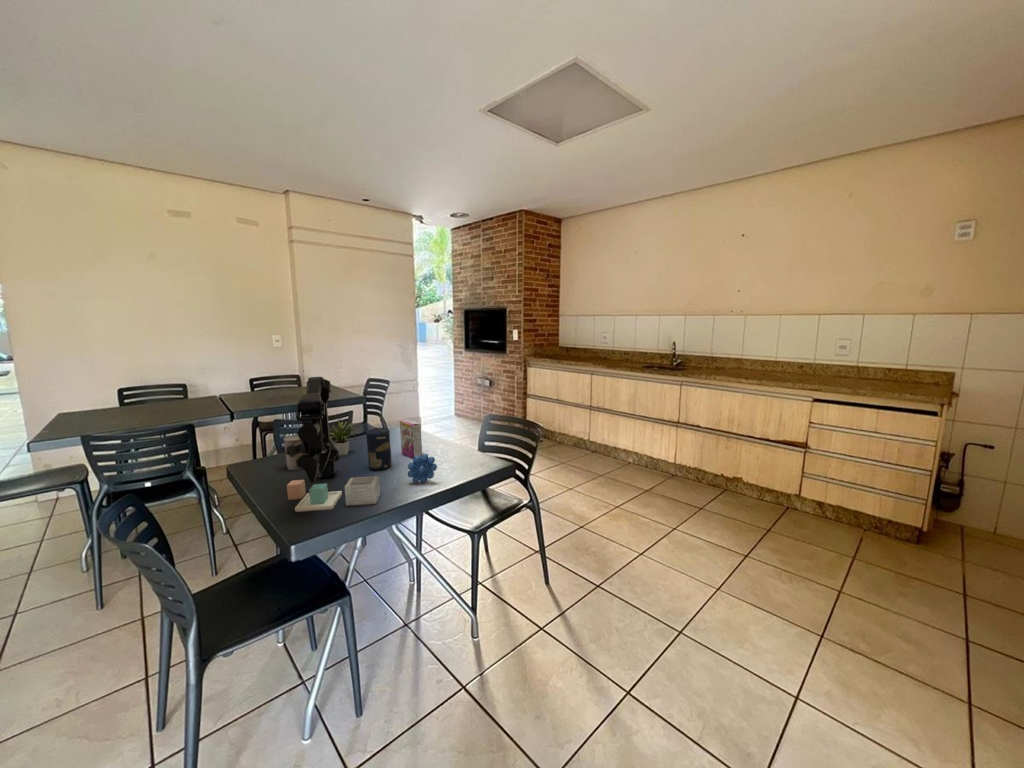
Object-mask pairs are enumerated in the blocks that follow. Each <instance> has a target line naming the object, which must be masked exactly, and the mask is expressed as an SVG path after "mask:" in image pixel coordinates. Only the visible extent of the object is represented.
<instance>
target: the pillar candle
mask: <svg viewBox="0 0 1024 768" xmlns="http://www.w3.org/2000/svg"><path fill="white" fill-rule="evenodd" d="M299 442H301V439H300V438H299V437H298V433H296V434H291V435H288V436H286V437H284V438H283V443H284V449H285V451H284V452H285V459H286V467H287V470H288V471H300V470H303V469H302V468H299V467H296V460H297V459H298V458H299V457H300V456H301V455H308V454H302V453H299V454H297V455H294V456H293V457H290V456H289V455H287V454H286V449H287V447H288V446H290V445H292V444H293V445H294V444H297V443H299Z"/></svg>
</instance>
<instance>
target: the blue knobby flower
mask: <svg viewBox="0 0 1024 768" xmlns="http://www.w3.org/2000/svg"><path fill="white" fill-rule="evenodd" d="M435 461H436V460H435V457H434V456H429V455H428V453H422V455H421V457H419V456H415V457H414V458H412V462H409V463H408V465H407V469H408V471H407V477H408V478H412V479H411V480H412V483H415V484H416V483H418V482H419V483H421V484H425V483H427V482H428V479H429V480H430V479H432V478H434V476H435V471H437V469H438V464H436V463H435Z"/></svg>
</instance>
